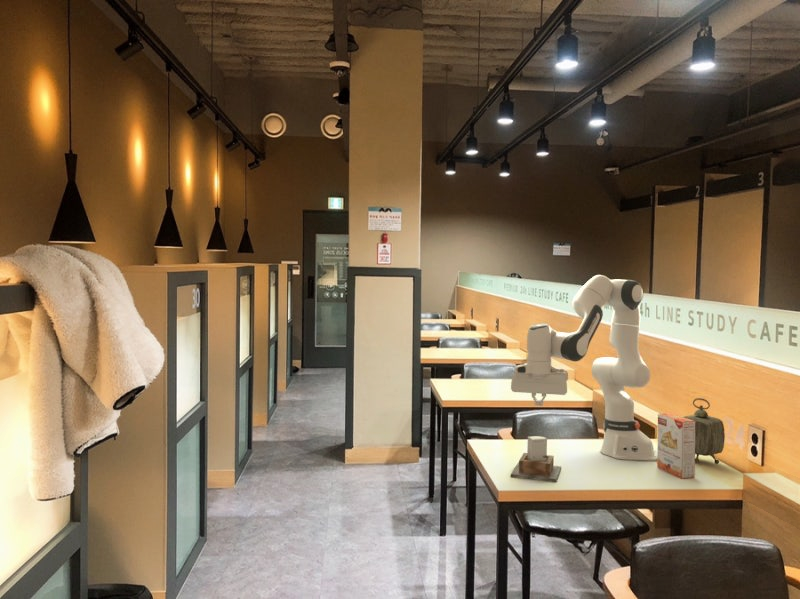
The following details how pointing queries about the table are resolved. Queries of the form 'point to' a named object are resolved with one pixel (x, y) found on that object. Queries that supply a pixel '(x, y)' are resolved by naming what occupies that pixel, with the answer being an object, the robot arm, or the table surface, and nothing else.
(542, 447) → the skincare box
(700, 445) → the tabletop clock
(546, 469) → the box holder
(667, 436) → the cracker box
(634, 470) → the table surface
